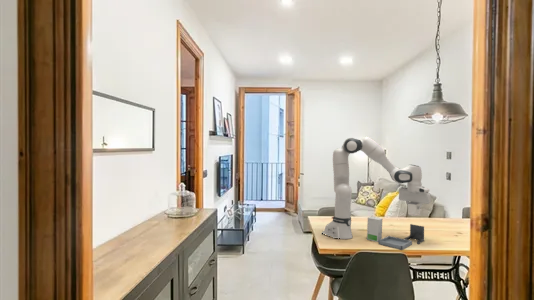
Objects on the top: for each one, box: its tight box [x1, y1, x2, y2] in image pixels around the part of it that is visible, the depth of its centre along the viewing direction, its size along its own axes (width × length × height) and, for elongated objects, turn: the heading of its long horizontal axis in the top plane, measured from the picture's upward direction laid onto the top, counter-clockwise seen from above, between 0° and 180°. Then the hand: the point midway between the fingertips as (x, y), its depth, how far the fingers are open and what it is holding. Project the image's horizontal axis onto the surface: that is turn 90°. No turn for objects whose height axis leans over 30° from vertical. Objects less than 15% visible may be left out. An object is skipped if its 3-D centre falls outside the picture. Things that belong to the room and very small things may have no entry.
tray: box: [377, 235, 413, 251], centre depth 200 cm, size 16×16×2 cm
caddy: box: [407, 201, 421, 216], centre depth 207 cm, size 5×8×8 cm, turn 134°
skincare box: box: [366, 215, 383, 243], centre depth 210 cm, size 8×7×16 cm
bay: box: [404, 223, 425, 245], centre depth 207 cm, size 9×10×10 cm
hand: (414, 208), depth 207 cm, fingers closed on caddy, 5 cm apart
